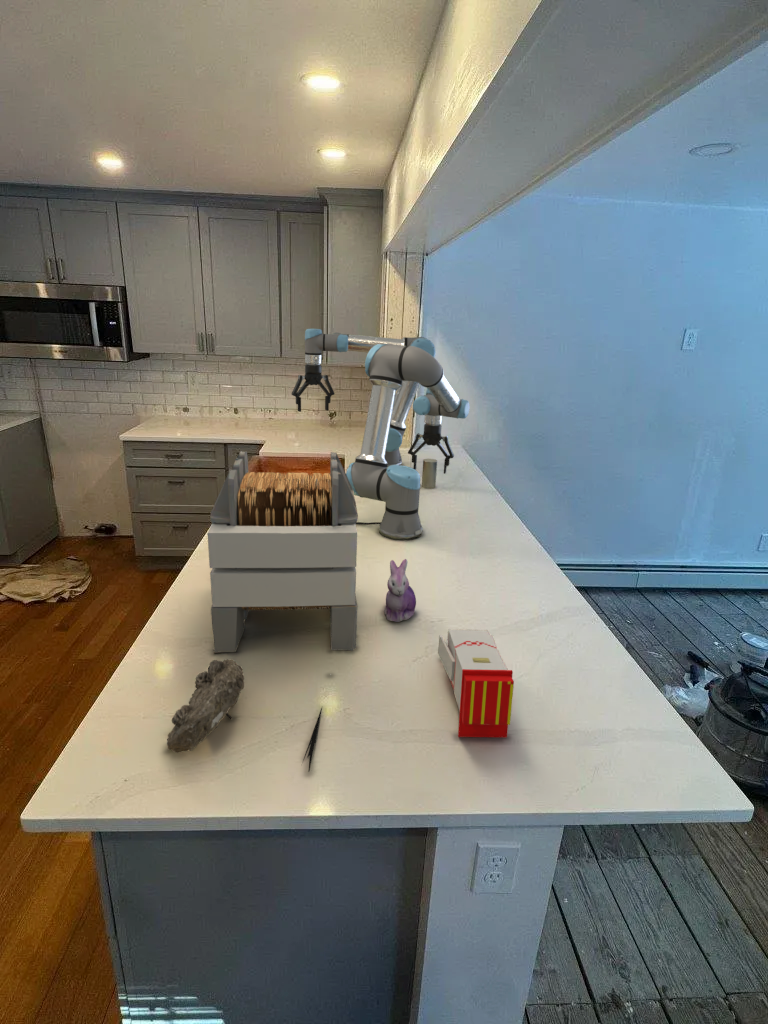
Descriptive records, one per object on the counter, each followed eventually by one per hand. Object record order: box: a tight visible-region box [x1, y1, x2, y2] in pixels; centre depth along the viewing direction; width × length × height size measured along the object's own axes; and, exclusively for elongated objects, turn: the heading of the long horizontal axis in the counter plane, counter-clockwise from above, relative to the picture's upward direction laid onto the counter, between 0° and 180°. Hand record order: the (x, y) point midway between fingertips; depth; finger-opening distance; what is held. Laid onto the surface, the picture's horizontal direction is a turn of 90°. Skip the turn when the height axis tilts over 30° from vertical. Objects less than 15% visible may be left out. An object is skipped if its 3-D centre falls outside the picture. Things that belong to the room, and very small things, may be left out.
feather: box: [301, 673, 332, 771], centre depth 108 cm, size 2×28×2 cm
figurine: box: [384, 558, 417, 623], centre depth 145 cm, size 9×10×15 cm
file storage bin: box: [206, 450, 359, 654], centre depth 137 cm, size 34×33×41 cm
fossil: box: [166, 658, 245, 754], centre depth 106 cm, size 22×10×15 cm
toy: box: [437, 628, 515, 738], centre depth 117 cm, size 12×13×30 cm
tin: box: [421, 458, 438, 490], centre depth 253 cm, size 6×6×12 cm
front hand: (429, 471), depth 252 cm, fingers open, 13 cm apart
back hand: (313, 410), depth 266 cm, fingers open, 13 cm apart
